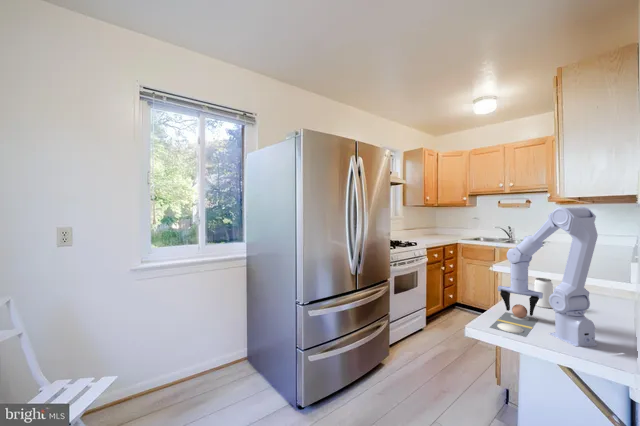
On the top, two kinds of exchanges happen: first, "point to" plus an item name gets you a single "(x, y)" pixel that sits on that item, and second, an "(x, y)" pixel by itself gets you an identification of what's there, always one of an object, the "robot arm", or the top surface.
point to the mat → (516, 323)
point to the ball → (519, 310)
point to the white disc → (510, 328)
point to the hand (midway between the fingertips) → (519, 312)
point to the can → (543, 291)
